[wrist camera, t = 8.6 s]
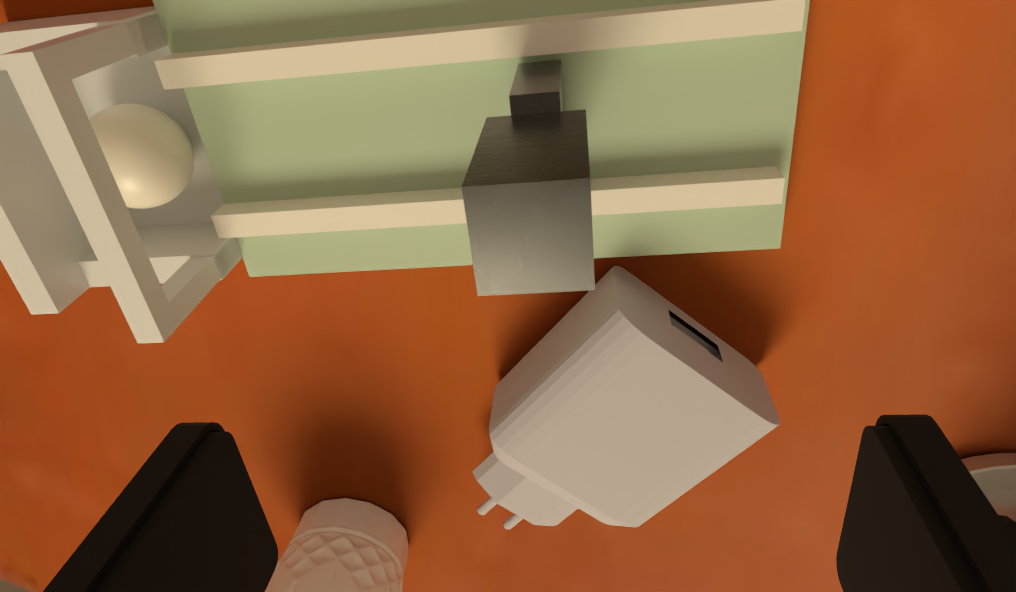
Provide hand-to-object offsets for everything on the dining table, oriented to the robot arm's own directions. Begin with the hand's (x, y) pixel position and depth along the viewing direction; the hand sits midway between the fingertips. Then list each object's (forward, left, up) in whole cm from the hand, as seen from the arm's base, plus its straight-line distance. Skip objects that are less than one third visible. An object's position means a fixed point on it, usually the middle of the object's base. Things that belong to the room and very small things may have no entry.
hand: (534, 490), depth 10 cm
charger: (0, +15, -19) cm, 25 cm away
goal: (+17, 0, -19) cm, 26 cm away
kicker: (0, 0, -17) cm, 17 cm away
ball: (+16, 0, -17) cm, 23 cm away
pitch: (+3, 0, -19) cm, 19 cm away
